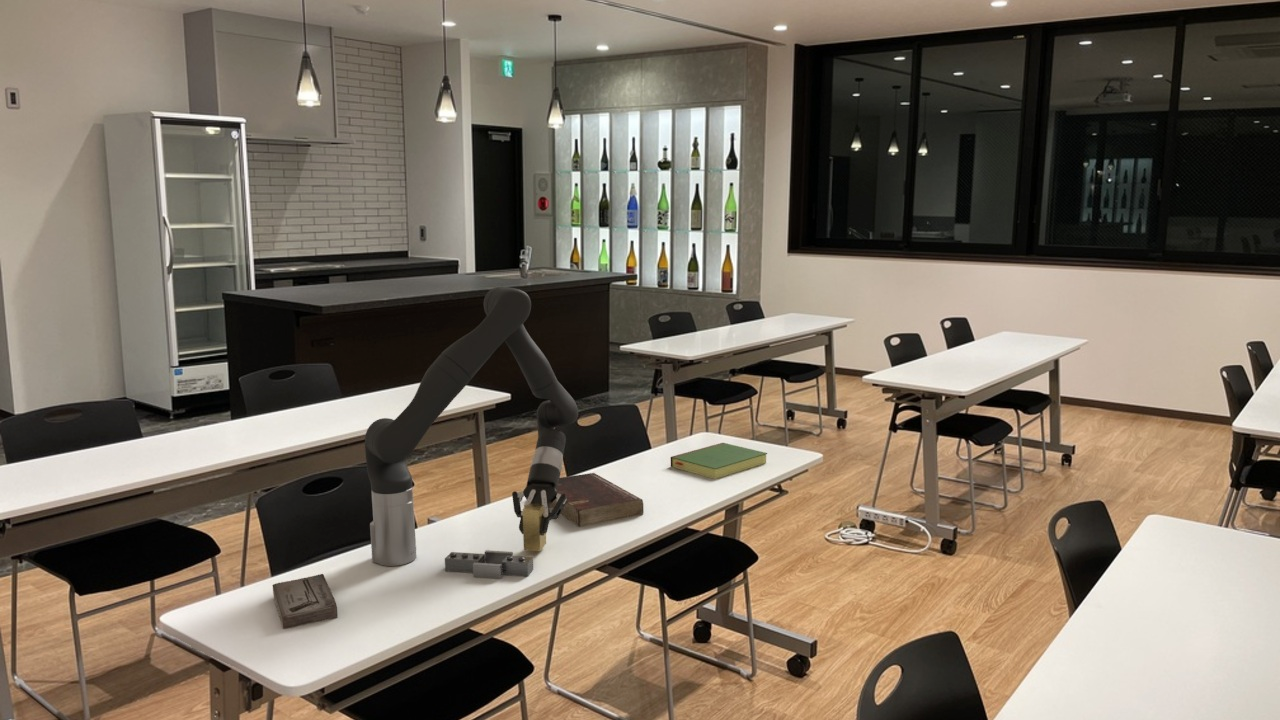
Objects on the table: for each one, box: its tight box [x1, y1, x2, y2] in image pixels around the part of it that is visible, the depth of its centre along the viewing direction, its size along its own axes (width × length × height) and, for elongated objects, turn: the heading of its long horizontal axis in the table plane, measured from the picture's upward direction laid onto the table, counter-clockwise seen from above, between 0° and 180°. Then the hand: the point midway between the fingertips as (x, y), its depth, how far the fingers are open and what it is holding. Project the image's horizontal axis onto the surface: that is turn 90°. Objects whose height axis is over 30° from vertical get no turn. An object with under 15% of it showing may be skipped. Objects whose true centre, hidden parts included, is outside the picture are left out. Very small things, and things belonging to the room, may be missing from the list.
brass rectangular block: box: [522, 503, 547, 552], centre depth 222 cm, size 4×5×10 cm
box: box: [272, 573, 338, 630], centre depth 194 cm, size 11×17×3 cm, turn 27°
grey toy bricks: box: [444, 549, 534, 580], centre depth 212 cm, size 20×8×4 cm, turn 79°
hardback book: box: [550, 472, 644, 528], centre depth 256 cm, size 29×19×5 cm, turn 29°
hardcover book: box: [670, 442, 768, 480], centre depth 293 cm, size 25×19×4 cm
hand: (532, 533), depth 221 cm, fingers closed on brass rectangular block, 4 cm apart
